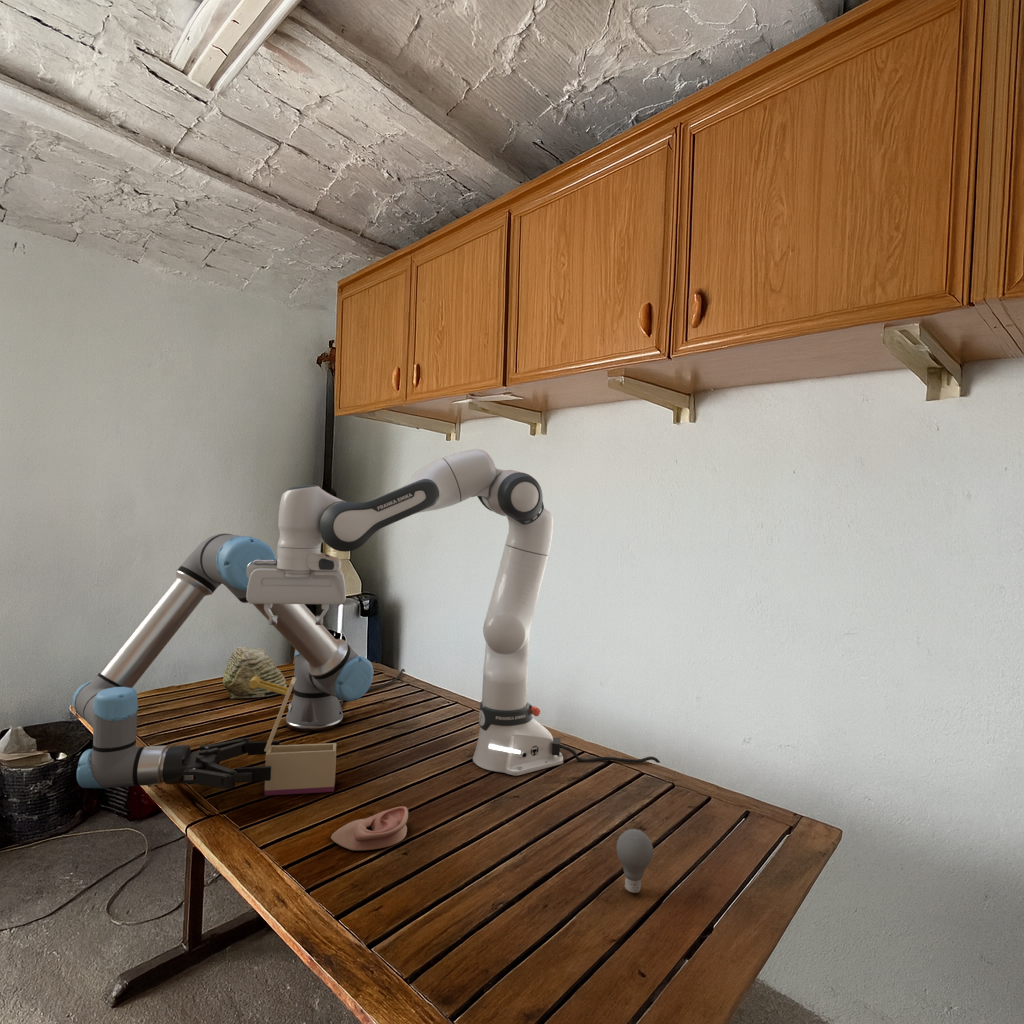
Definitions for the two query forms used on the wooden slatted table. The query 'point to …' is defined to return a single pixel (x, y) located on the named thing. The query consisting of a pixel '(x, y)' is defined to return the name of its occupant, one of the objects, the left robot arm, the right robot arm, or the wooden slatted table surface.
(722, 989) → the wooden slatted table surface
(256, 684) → the lid
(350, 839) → the anatomical model
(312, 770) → the purple-based tan box
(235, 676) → the fossil
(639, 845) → the light bulb
